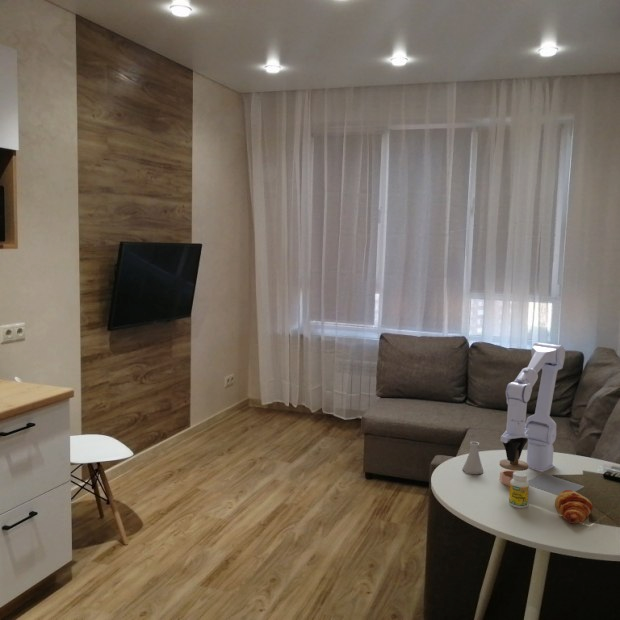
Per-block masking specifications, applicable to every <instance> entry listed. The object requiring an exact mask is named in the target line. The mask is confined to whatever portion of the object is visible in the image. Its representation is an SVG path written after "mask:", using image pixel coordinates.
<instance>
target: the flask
mask: <svg viewBox="0 0 620 620" xmlns="http://www.w3.org/2000/svg"><path fill="white" fill-rule="evenodd" d="M469 446H470V447H469V448H470V449H469V452H468V456H467V458H466V461H465V462H464V464H463V467H462V471H463V470H464V471H465V472H464V471H463V472H464V473H466V474H470V475H483V474H484V468H483V467H484V466H483V465H482V462H481V457H480V453H479V446H480V442H478V441H469Z"/></svg>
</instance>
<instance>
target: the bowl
mask: <svg viewBox="0 0 620 620" xmlns="http://www.w3.org/2000/svg"><path fill="white" fill-rule="evenodd" d="M514 472H518V471H514V470H508V469H504V470H501V471H499V482H501V484H503V485H506V486H509V487H510V481H511V480H512V479H513V473H514Z"/></svg>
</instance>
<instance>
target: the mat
mask: <svg viewBox="0 0 620 620" xmlns="http://www.w3.org/2000/svg"><path fill="white" fill-rule="evenodd" d="M527 481H528V483H529V487H533V488H536V489H538V490H541V491H545V492H547V493H551V494H554V495H557V496H558V495H559V494H561V492H563V491H564V490H572V491H574V492H577V491H579V490H581V489H583V488H585V485H581V484H579V483H575V482H573V481H569V480H566V479H563V478H559V477H556V476H554V475H550V474H547V473H542V474H540V475H538V476H535V477H533V478H531V479H530V480H527Z"/></svg>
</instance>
